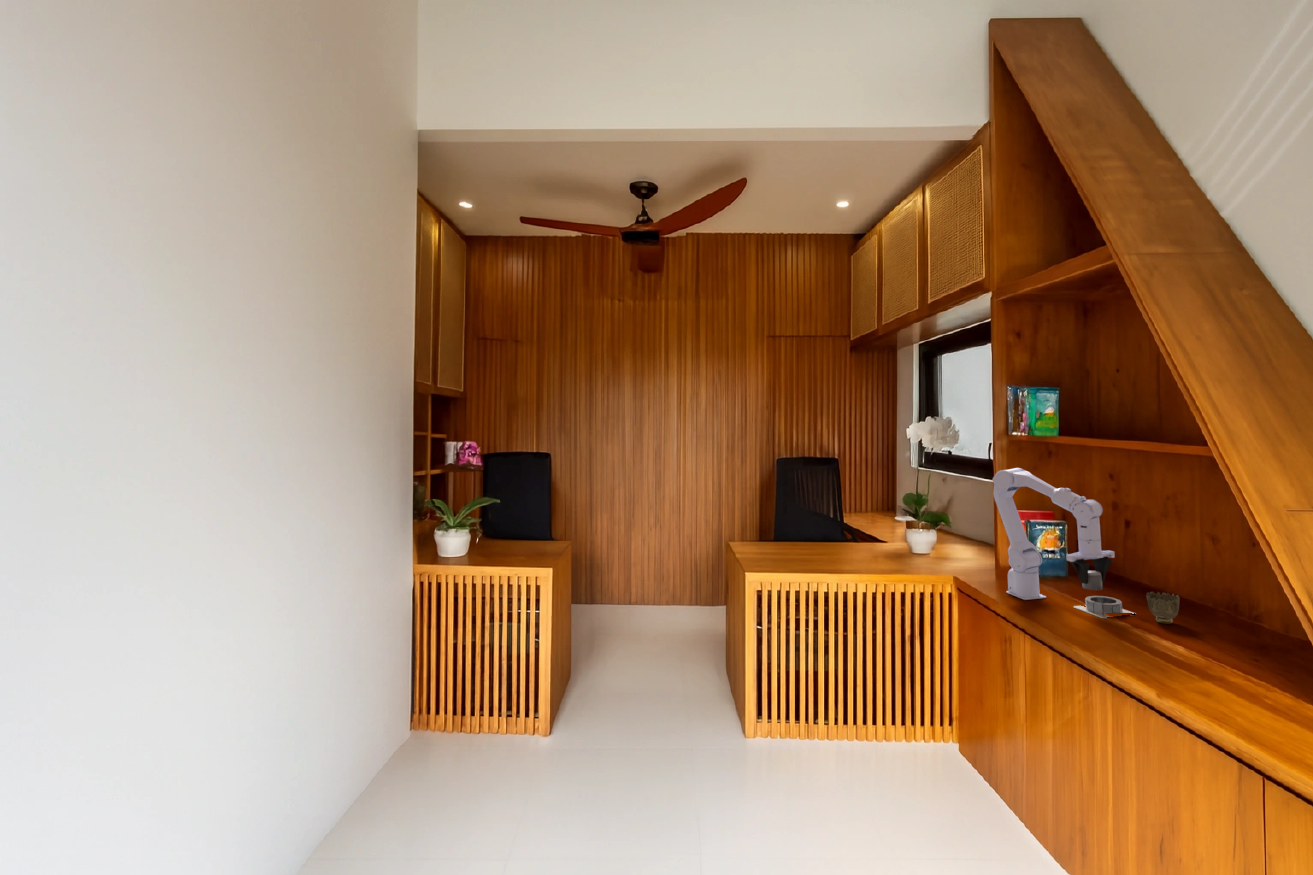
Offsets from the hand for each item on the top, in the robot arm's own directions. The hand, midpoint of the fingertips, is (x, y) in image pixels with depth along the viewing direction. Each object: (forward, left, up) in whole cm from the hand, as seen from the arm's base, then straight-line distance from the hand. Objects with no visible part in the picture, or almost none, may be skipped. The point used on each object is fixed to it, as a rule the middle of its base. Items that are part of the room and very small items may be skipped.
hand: (1092, 582), depth 183 cm
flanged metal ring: (+1, +2, -9) cm, 9 cm away
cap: (0, 0, -2) cm, 2 cm away
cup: (+14, +9, -9) cm, 19 cm away
